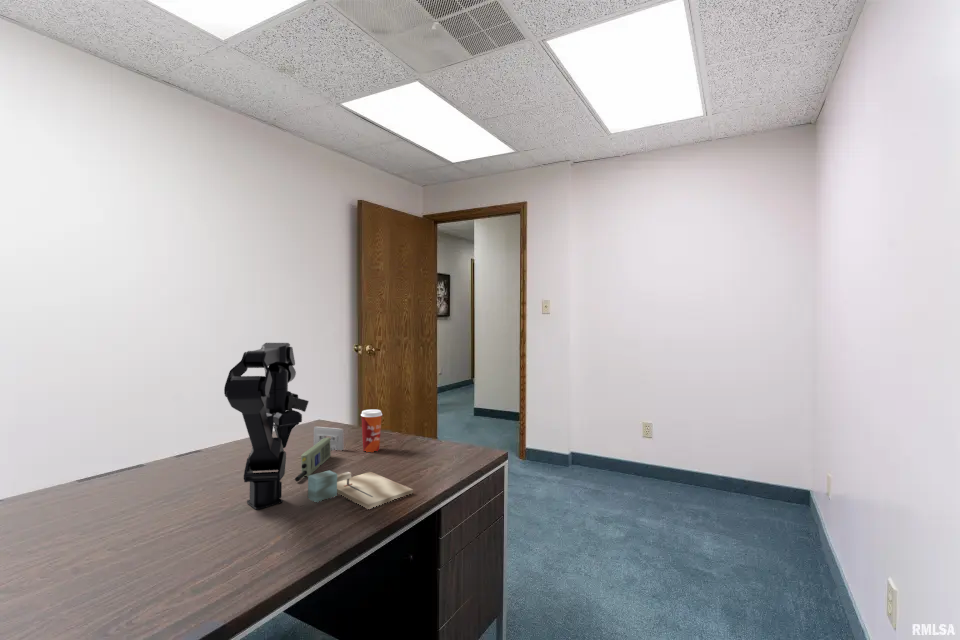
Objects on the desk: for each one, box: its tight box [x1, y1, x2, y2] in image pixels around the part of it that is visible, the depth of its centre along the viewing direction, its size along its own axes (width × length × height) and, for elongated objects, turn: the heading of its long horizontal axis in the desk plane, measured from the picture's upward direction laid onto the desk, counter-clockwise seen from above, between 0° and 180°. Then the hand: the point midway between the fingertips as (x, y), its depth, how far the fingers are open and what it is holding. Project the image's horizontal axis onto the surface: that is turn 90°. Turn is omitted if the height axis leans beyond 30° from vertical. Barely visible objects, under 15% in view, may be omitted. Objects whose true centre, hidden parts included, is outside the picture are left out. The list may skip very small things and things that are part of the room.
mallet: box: [307, 469, 352, 503], centre depth 120 cm, size 11×4×6 cm, turn 137°
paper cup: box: [360, 409, 383, 453], centre depth 160 cm, size 8×8×14 cm
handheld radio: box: [294, 437, 332, 482], centre depth 140 cm, size 7×3×25 cm
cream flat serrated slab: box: [337, 471, 414, 510], centre depth 122 cm, size 14×20×1 cm
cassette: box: [313, 426, 345, 451], centre depth 161 cm, size 12×2×8 cm, turn 74°
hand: (275, 444), depth 124 cm, fingers open, 9 cm apart
